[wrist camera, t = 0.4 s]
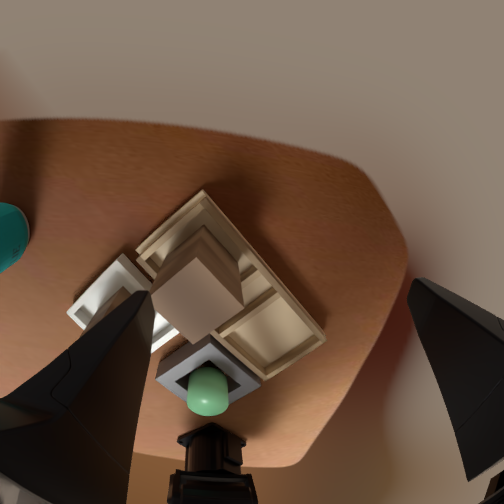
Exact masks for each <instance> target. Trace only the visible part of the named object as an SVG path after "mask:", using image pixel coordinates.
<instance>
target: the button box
mask: <svg viewBox="0 0 504 504" xmlns="http://www.w3.org/2000/svg"><path fill="white" fill-rule="evenodd" d="M208 360H210V361H212V362H213V363H214V364H215V365H216V366H218V367H219V368H220V369H221V370H222V371H224V372H225V373H226V374H227V375H229V376H227V383H228V405H229V404H231V403H233V402H234V401H236V400H238V399H240V398H241V397H243V396H245V395H247V394H248V393H250V392H252V391H254V390H255V389H257V388H259V387H260V386H261V382H260V377H259V376H258V375H257V374H256V373H254V372H253V371H252V370H251V369H250V368H248V367H247V366H246V365H245V364H244V363H243V362H241V361H240V360H239V359H238V358H237V357H236V356H235V355H233V354H232V353H231V352H230V351H229V350H228V349H227V348H225V347H224V346H223V345H222V344H221V343H220V342H219V341H218V340H217V339H215V338H214V337H213V336H212V335H211V334H210V333H209V334H208V335H206V336H205V337H203V338H202V339H201V340H199V341H198V342H196V343H195V344H192V343H191V342H190V341H189V342H188V343H187V344H185V345H184V346H182V347H181V348H179V349H178V350H177V351H175V352H174V353H172V354H171V355H169V356H168V357H167V358H165V359H164V360H162V361H161V362H159V365H158V369H157V373H156V378H155V380H156V381H158V382H159V383H160V384H162V385H163V386H164V387H166V388H167V389H168V390H170V391H171V392H172V393H174V394H175V395H177V396H178V397H179V398H181V399H182V400H184V401H185V402H186V403H187V393H188V383H189V376H190V374H188V373H189V372H190V371H192V370H194V369H195V368H197V367H198V366H200V365H201V364H203V363H204V362H206V361H208Z"/></svg>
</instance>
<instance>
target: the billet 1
mask: <svg viewBox="0 0 504 504" xmlns="http://www.w3.org/2000/svg"><path fill="white" fill-rule="evenodd" d="M130 295H132V294H131V293H130V292H129V291H128V290H127V289H126V288H125V287H124V286H122V287H121V288H120V289H119V290H118V291H117V292H116V293H115V294H114V295H113V296H111V297H110V298H109V299H108V300H107V301H106V302H105V303H104V304H103V305H102V306H101V307H100V308H99V309H98V310H97V311H96V313H95V314H94V316H93V317H92V319H91V320H90V322H89V323H88V325H87V327H86V328H85V330H84V331H83V333H82V334H81V336H82V335H84V334H85V333H86V332H87V331H88V330H89V329H91V328H92V327H93V326H94V325H95V324H97V323H98V322H99V321H100V320H101V319H103V318H104V317H105V316H106V315H107V314H109V313H110V312H111V311H112V310H113V309H115V308H116V307H117V306H118V305H119V304H121V303H122V302H123V301H124V300H126V299H127V298H128V297H129V296H130ZM81 336H80V337H81Z"/></svg>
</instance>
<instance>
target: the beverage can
mask: <svg viewBox="0 0 504 504" xmlns="http://www.w3.org/2000/svg"><path fill="white" fill-rule="evenodd" d="M29 237H30V230H29V224H28V221H27V218H26V216H25V214H24V213H23V212H22V210H21V209H19V208H18V207H17V206H14V205H11V204H7V203H0V273H1V272H3V271H4V270H6V269H7V268H8V267H10V266H11V265H13V264H14V263H15V262H17V261H18V260H19V259H20V258H21V256H22V254H23V253H24V251H25V249H26V247H27V244H28V242H29Z"/></svg>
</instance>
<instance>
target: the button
mask: <svg viewBox="0 0 504 504" xmlns="http://www.w3.org/2000/svg"><path fill="white" fill-rule="evenodd" d="M187 405H188V407H189V408H190V410H192V411H193V412H195V413H197V414H199V415H203V416H215V415H218V414H221V413H223V412H224V411H225V410H226V409H227V408H228V383H227V377H226V375H225V374H224V373H223V372H222V371H221V370H219V369H217V368H213V367H201V368H198V369H195V370H194V371H193V372H192V373H191V374H190V376H189V383H188V393H187Z"/></svg>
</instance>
